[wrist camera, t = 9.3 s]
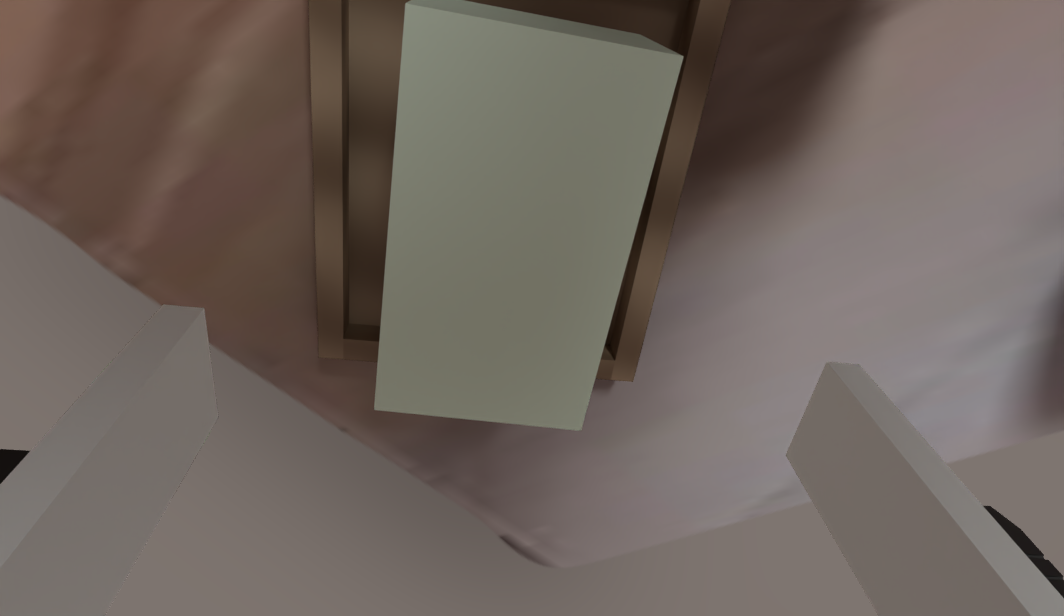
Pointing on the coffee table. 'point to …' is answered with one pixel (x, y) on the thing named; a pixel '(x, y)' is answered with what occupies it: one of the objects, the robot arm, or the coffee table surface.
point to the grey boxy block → (512, 208)
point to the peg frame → (368, 149)
